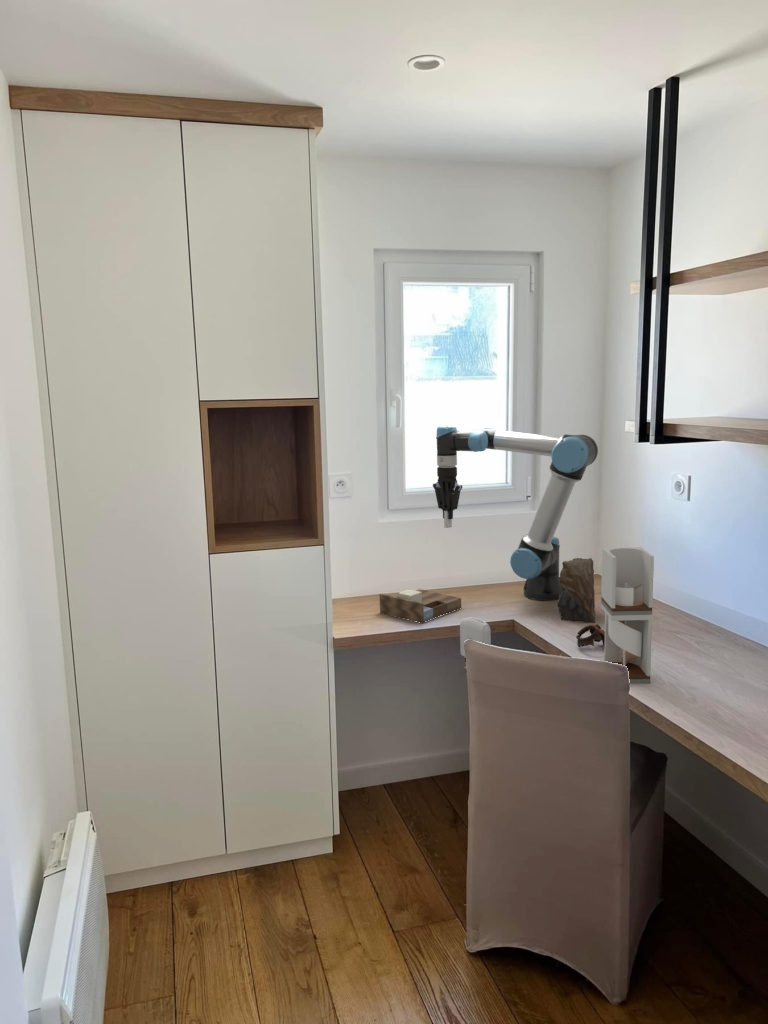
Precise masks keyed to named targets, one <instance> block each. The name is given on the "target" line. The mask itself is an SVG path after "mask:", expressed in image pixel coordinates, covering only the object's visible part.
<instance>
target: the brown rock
mask: <svg viewBox="0 0 768 1024" xmlns="http://www.w3.org/2000/svg"><path fill="white" fill-rule="evenodd" d="M561 565H562V568H561V570H560V571H559V577H560V578H559V582H560V586H561V588H562V591H561V593H560V594H559V599H557V608H558V611H559V614H560V619H561V621H566V622H568V621H569V622H578V623H584V624H585V623H586V624H588V623H590V624H595V623H596V622H595V619H596V610H595V609H596V607H595V600H596V599H595V586H594V585H595V577H594V576H595V574H594V573H595V569H594V560H593V559H592V558H591V557H590V558H579V557H576V558H572V559H571V560H564V561H562V563H561Z"/></svg>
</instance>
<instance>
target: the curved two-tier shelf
mask: <svg viewBox="0 0 768 1024" xmlns="http://www.w3.org/2000/svg"><path fill="white" fill-rule="evenodd" d="M654 562H655V556H654V555H652V553H650V552H649V551H647V550H645V548H643V547H642V546H640V547H637V546H636V547H633V546H632V547H604V548H603V547H602V548H601V587H600V588H601V592H600V593H601V594H600V595H601V596H600V609H601V610H602V611H603V612H604V632H605V646H604V651H603V652H604V655H603V656H604V659H603V661H608V662H612V663H618V664H622V665H625V666H627V668H628V671H629V679H630V683H629V684H651V674H652V673H651V671H652V670H651V668H652V666H651V665H652V637H653V636H652V634H653V631H652V630H653V604H654V603H653V601H654V599H653V597H654V595H653V594H654V566H655V565H654V564H655V563H654Z"/></svg>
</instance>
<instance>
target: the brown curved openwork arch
mask: <svg viewBox="0 0 768 1024" xmlns="http://www.w3.org/2000/svg"><path fill="white" fill-rule="evenodd" d="M587 632H589V633H590V635H589V636H588V635H587V636H586V637H582V636H583V634H585V633H587ZM575 637H576V639H577V641H576V644H577V646H578V647H579V648H581V647H587V646H592V647H595V644H594V642H595V643H596V642H597V643H600V642H602V646H603V647H605V630H604V629H602V627H601V625H599V624H590V625H589V624H588V625H587V626H584V627H582V628H581V629H580V630H578V632H577V635H576V636H575Z"/></svg>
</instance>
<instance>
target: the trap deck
mask: <svg viewBox="0 0 768 1024" xmlns="http://www.w3.org/2000/svg"><path fill="white" fill-rule="evenodd" d="M415 591H419V592H422V603H420V602H416V601H411V600H407V599H403V598H398V595H397V596H394V595H390V594H385V593H379V596H378V597H379V613H380V614H382V613H384V614H383V615H386V614H387V616H390V615H392V617H394V616H396V617H395V618H398V617H400V618H399V619H402V618H405V619H404V620H406V619H409V620H408V621H410V620H412V621H411V622H414V621H417V622H416V623H418V622H420V623H419V624H424V623H423V622H425V621H428V620H430V619H433V618H435V617H438V616H440V615H443V614H446V613H449V612H451V613H453V612H452V611H454V610H456V611H458V610H457V609H459V610H461V609H462V598H461V597H459V596H458V597H457V596H455V595H454V596H453V595H448V594H445V593H438V592H435V591H431V590H426V589H425V590H424V589H421V588H418V589H415ZM460 608H461V609H460ZM454 612H455V611H454ZM449 614H450V613H449ZM446 615H447V614H446ZM443 616H444V615H443ZM438 618H439V617H438ZM435 619H436V618H435ZM433 620H434V619H433ZM430 621H431V620H430ZM428 622H429V621H428ZM425 623H426V622H425Z"/></svg>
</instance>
